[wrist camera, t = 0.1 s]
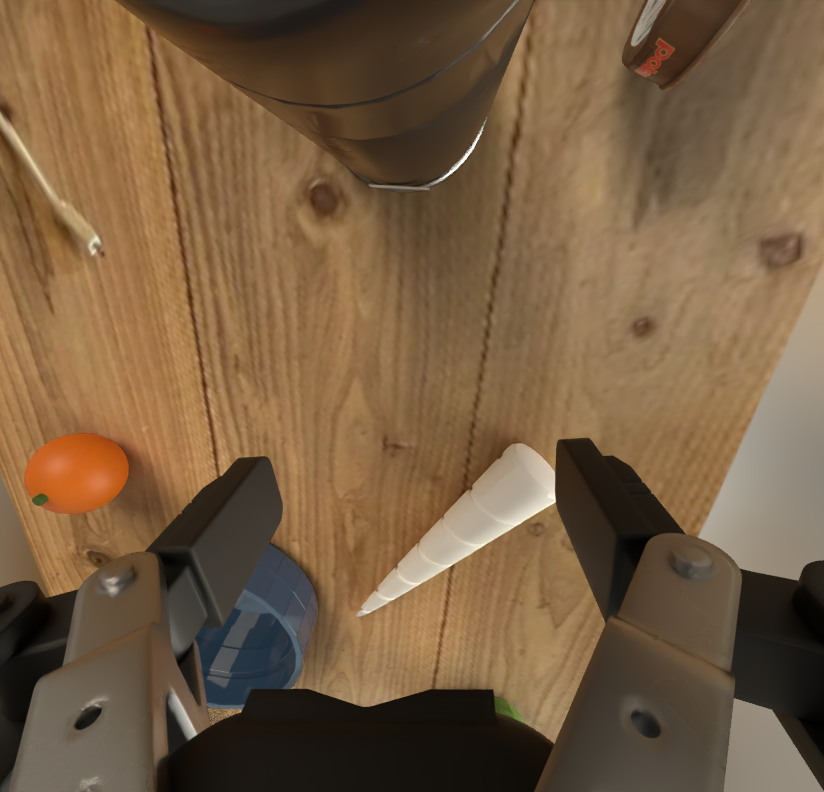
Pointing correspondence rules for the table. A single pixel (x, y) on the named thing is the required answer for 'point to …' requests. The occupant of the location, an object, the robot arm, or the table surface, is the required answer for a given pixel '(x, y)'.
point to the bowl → (260, 634)
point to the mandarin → (76, 473)
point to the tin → (677, 36)
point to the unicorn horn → (474, 520)
